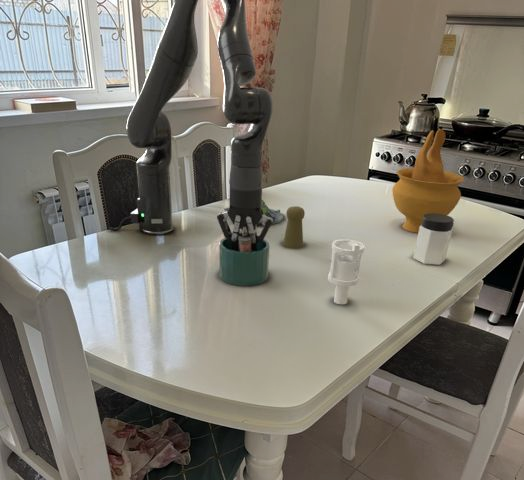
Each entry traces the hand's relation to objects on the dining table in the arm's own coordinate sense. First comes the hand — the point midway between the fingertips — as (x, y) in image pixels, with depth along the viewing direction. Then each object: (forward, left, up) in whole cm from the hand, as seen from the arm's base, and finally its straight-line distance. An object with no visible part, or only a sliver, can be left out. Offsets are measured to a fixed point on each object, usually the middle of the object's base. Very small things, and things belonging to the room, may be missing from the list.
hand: (244, 255), depth 125 cm
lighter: (+1, 0, -2) cm, 2 cm away
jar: (+48, +26, -6) cm, 55 cm away
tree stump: (-7, +47, -6) cm, 48 cm away
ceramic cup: (0, 0, -5) cm, 5 cm away
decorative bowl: (+47, +54, -6) cm, 72 cm away
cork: (+9, +26, -6) cm, 28 cm away
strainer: (+25, -8, -6) cm, 27 cm away
